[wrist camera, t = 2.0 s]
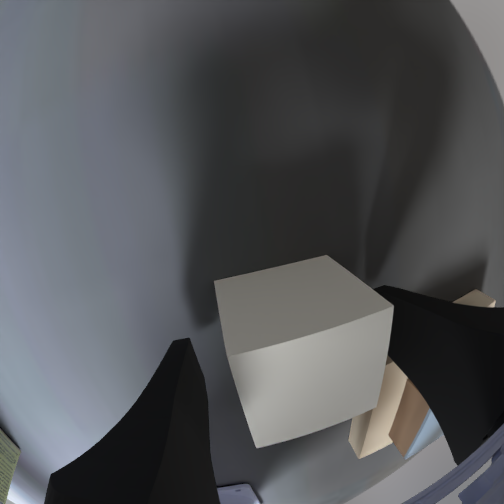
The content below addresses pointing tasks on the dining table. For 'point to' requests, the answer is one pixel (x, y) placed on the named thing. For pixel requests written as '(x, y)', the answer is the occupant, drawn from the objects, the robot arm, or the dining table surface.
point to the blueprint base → (390, 396)
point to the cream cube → (303, 346)
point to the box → (7, 464)
